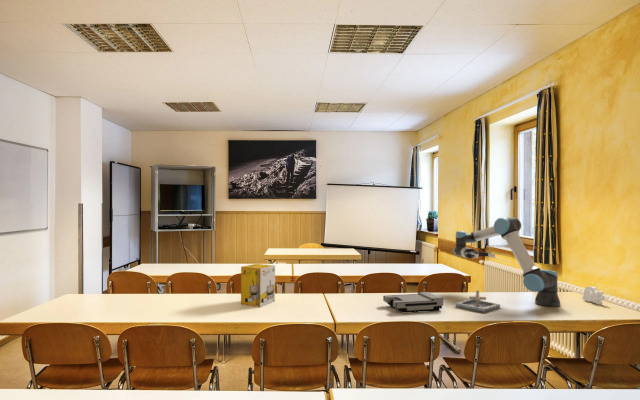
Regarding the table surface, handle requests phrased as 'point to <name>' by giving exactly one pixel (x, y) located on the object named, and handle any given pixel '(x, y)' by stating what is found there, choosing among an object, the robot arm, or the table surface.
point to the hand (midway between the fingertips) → (486, 256)
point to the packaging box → (257, 284)
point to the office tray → (415, 302)
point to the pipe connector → (477, 298)
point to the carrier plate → (482, 307)
